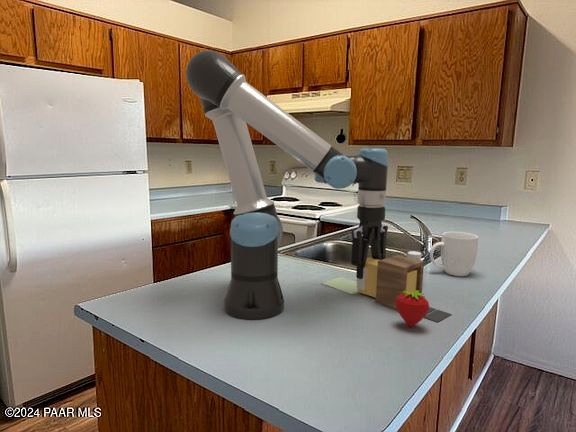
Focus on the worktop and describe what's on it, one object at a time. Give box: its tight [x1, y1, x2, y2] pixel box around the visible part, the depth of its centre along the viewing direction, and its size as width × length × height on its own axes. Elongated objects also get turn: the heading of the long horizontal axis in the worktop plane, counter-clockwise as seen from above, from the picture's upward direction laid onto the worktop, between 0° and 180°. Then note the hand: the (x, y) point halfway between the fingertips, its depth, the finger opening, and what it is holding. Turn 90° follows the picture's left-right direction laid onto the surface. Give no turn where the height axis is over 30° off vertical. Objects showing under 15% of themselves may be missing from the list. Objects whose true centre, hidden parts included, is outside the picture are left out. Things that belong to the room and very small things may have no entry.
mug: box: [429, 231, 479, 277], centre depth 131 cm, size 15×11×13 cm
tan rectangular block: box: [358, 257, 417, 299], centre depth 108 cm, size 5×15×9 cm, turn 42°
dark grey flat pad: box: [423, 306, 452, 323], centre depth 99 cm, size 7×8×1 cm
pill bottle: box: [406, 250, 423, 261], centre depth 121 cm, size 6×5×10 cm
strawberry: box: [395, 284, 430, 328], centre depth 91 cm, size 6×8×10 cm
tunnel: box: [375, 254, 425, 311], centre depth 105 cm, size 9×8×12 cm
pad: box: [320, 276, 359, 295], centre depth 119 cm, size 9×12×1 cm
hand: (367, 286), depth 113 cm, fingers closed on tan rectangular block, 5 cm apart
